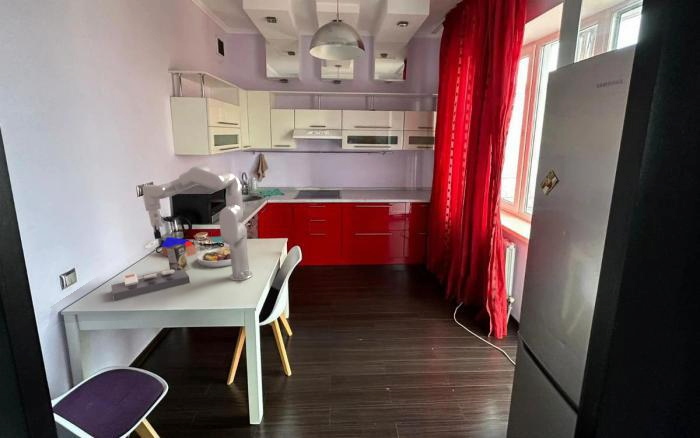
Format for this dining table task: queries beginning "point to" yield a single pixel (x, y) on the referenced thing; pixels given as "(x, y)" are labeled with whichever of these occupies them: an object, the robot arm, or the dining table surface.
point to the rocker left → (130, 280)
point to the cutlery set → (216, 240)
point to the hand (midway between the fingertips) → (158, 238)
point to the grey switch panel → (150, 285)
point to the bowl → (215, 257)
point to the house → (173, 241)
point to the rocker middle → (149, 276)
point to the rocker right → (167, 272)
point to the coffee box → (177, 257)
